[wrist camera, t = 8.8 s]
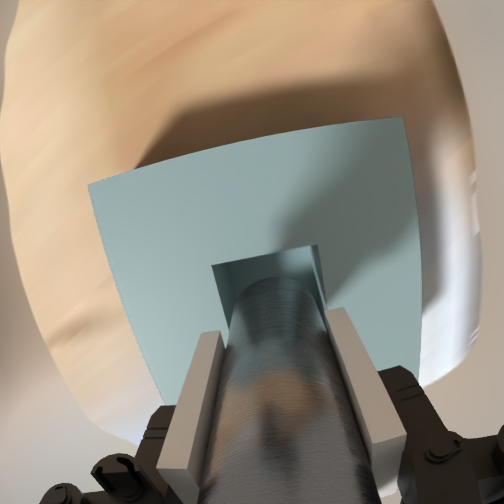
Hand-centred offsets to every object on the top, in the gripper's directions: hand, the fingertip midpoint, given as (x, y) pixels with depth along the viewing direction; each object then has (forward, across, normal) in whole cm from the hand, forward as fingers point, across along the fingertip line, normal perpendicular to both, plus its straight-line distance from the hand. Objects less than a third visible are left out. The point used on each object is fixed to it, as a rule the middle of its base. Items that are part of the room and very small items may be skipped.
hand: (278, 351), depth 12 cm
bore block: (+10, 0, 0) cm, 10 cm away
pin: (+3, 0, 0) cm, 3 cm away
